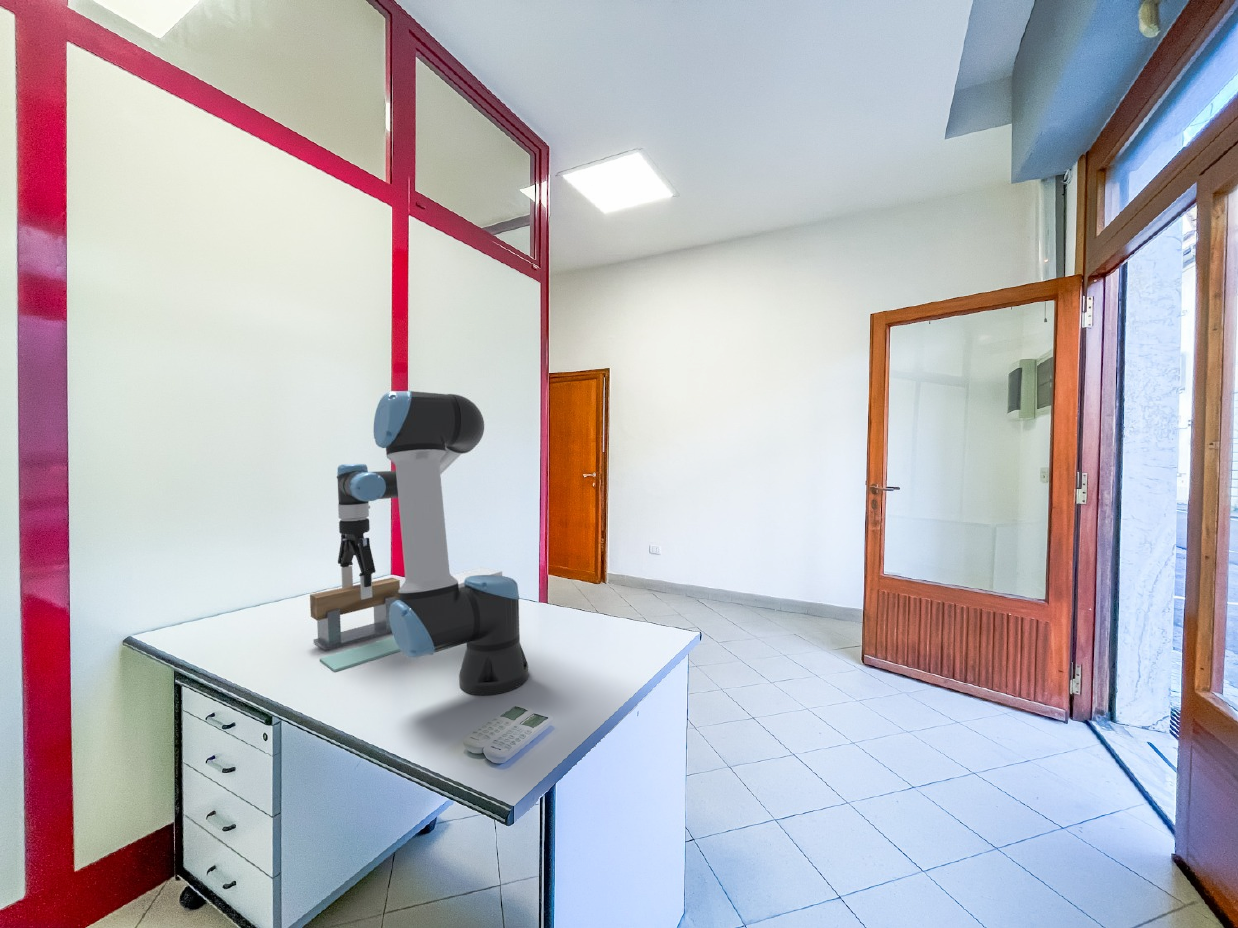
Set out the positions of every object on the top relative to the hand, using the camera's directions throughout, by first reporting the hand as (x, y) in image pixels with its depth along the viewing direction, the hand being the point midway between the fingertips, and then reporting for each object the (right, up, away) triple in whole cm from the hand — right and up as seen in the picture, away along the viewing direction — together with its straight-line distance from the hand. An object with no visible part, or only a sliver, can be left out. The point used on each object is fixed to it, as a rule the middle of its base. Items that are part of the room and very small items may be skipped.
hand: (356, 593), depth 140 cm
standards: (0, -12, 0) cm, 12 cm away
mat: (+11, -12, -11) cm, 19 cm away
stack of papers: (+21, -12, +19) cm, 31 cm away
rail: (0, -4, 0) cm, 4 cm away
